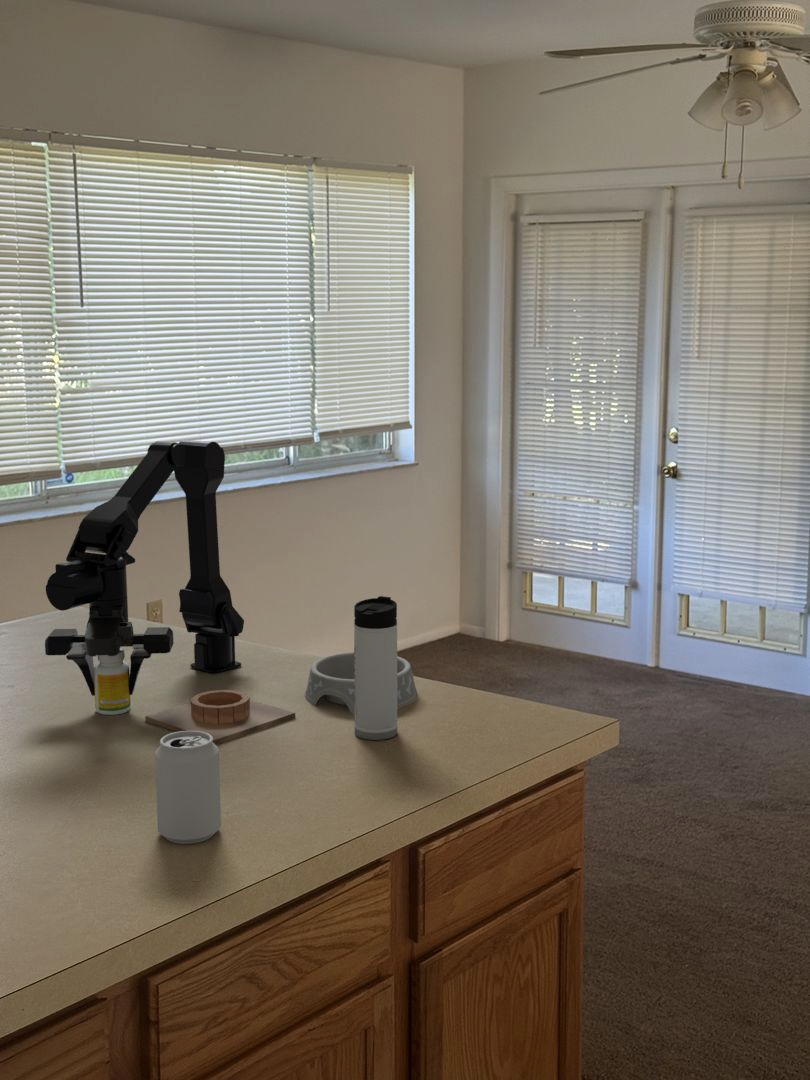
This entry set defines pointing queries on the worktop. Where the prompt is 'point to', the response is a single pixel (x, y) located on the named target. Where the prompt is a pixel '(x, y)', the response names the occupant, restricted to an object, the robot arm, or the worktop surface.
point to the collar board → (221, 730)
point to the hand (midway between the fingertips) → (112, 694)
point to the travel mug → (375, 668)
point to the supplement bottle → (112, 684)
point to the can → (188, 787)
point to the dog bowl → (352, 681)
